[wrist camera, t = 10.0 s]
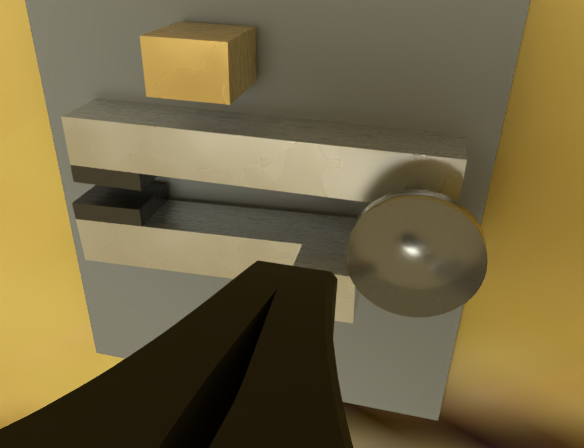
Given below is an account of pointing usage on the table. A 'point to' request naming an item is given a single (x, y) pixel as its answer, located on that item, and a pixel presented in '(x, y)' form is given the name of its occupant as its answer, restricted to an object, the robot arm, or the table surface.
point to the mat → (305, 105)
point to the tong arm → (299, 244)
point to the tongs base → (257, 151)
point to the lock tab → (199, 61)
